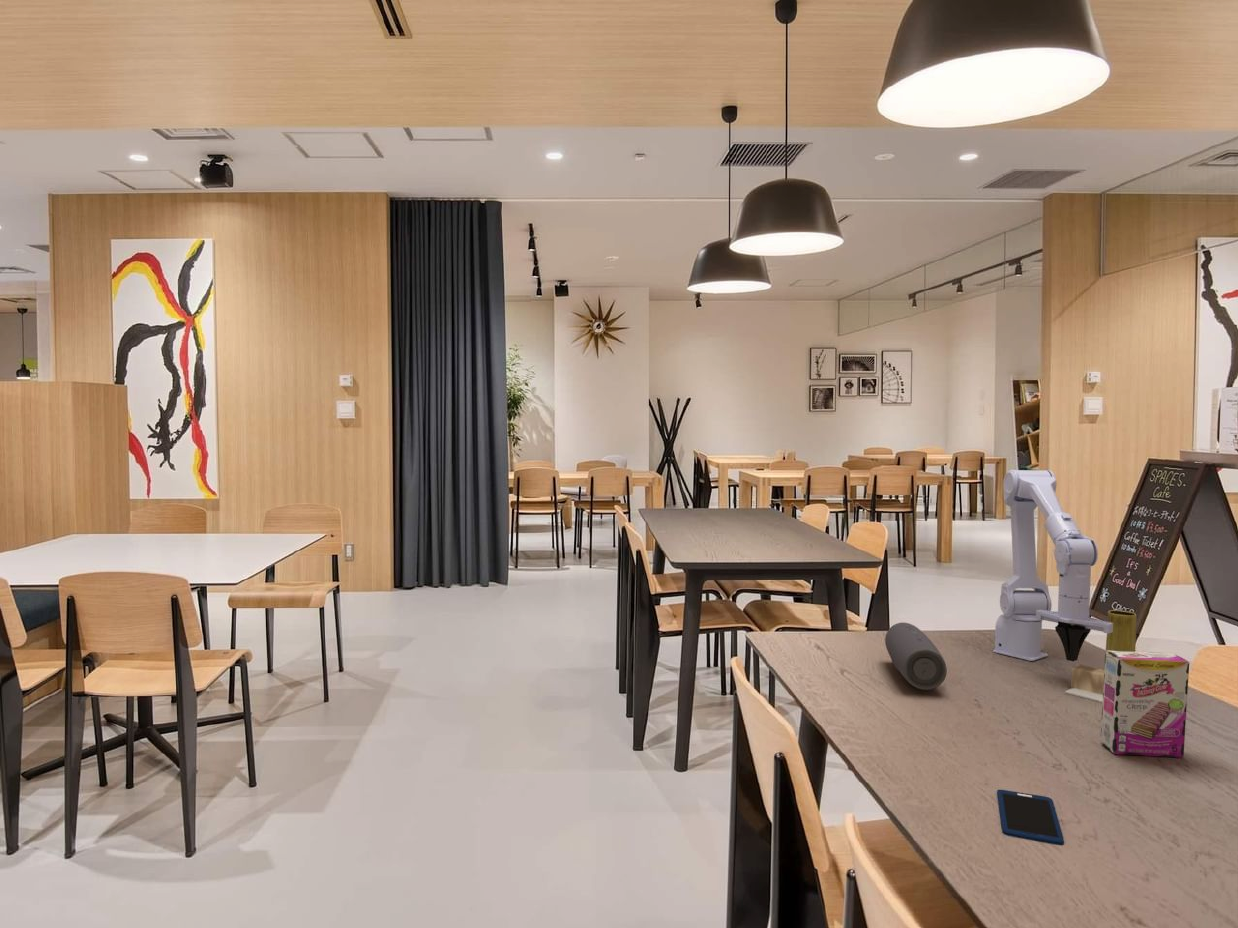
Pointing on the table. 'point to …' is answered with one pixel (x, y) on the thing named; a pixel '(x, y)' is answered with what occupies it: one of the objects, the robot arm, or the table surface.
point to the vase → (1121, 631)
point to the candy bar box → (1144, 703)
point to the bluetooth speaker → (915, 656)
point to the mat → (1085, 694)
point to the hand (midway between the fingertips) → (1071, 659)
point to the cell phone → (1029, 817)
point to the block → (1087, 679)
